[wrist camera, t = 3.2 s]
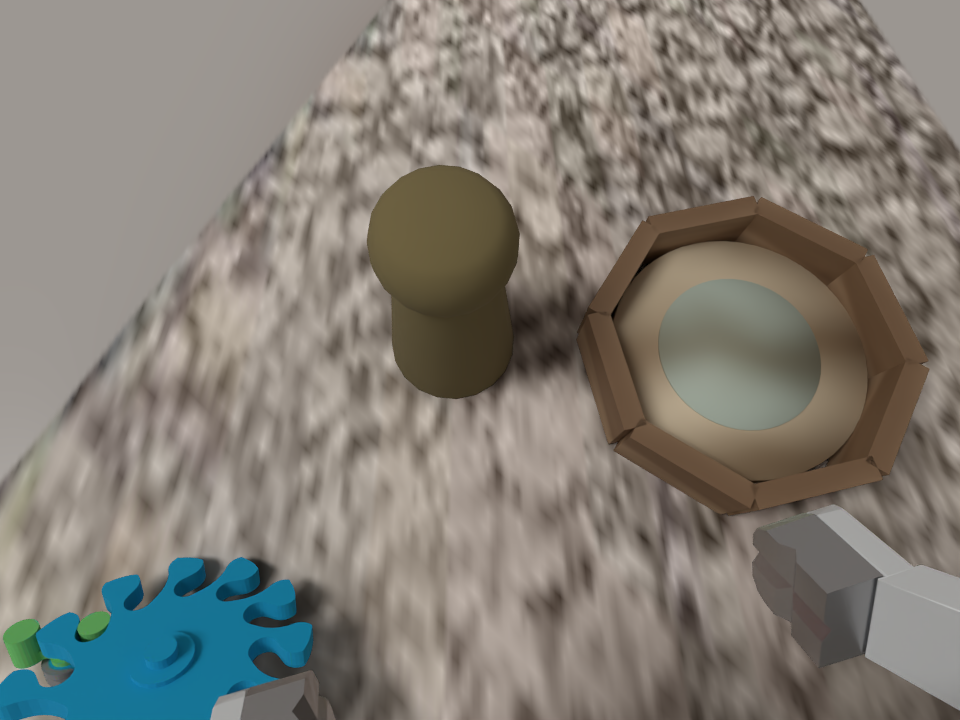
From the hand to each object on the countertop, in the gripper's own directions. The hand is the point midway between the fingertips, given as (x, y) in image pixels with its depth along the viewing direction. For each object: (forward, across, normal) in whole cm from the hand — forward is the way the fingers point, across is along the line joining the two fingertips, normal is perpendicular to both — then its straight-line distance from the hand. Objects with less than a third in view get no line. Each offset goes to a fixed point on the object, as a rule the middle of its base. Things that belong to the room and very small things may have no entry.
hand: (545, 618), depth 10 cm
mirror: (+16, -14, +6) cm, 22 cm away
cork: (+19, -1, +3) cm, 19 cm away
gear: (+12, +13, +10) cm, 20 cm away
